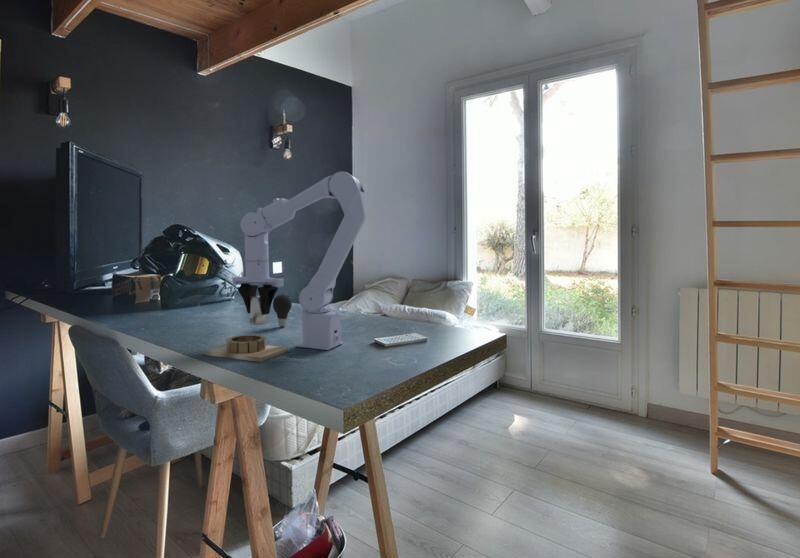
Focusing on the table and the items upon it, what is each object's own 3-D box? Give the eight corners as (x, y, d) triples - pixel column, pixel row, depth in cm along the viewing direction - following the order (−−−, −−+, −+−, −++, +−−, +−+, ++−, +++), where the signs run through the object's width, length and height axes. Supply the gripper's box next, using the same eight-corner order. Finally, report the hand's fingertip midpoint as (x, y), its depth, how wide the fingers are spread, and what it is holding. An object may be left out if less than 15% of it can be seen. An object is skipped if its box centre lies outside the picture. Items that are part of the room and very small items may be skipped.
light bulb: (287, 329, 137) (286, 296, 137) (269, 328, 139) (269, 295, 138) (295, 325, 143) (294, 293, 142) (278, 325, 144) (277, 293, 143)
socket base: (287, 351, 111) (287, 337, 111) (260, 362, 102) (260, 346, 102) (234, 345, 117) (234, 331, 117) (204, 354, 108) (204, 339, 107)
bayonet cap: (259, 321, 122) (258, 295, 122) (271, 322, 121) (270, 295, 120) (245, 324, 117) (244, 297, 117) (258, 325, 116) (257, 298, 115)
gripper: (290, 260, 119) (291, 312, 120) (244, 259, 124) (246, 309, 125) (273, 262, 112) (274, 317, 114) (226, 260, 118) (227, 313, 119)
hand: (258, 313), depth 119 cm, fingers closed on bayonet cap, 4 cm apart
